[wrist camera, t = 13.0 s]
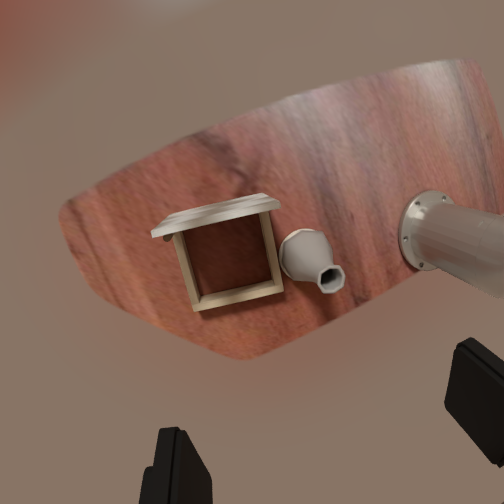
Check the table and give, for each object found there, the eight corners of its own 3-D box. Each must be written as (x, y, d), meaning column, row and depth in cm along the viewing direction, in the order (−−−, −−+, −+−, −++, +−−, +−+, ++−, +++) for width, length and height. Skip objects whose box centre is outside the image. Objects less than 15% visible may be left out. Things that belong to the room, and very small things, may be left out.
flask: (336, 272, 43) (366, 299, 33) (287, 287, 43) (306, 320, 33) (326, 222, 41) (357, 238, 31) (274, 237, 41) (291, 258, 31)
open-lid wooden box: (262, 192, 40) (279, 201, 28) (280, 284, 43) (301, 324, 32) (170, 214, 39) (150, 231, 28) (195, 304, 43) (188, 350, 31)
